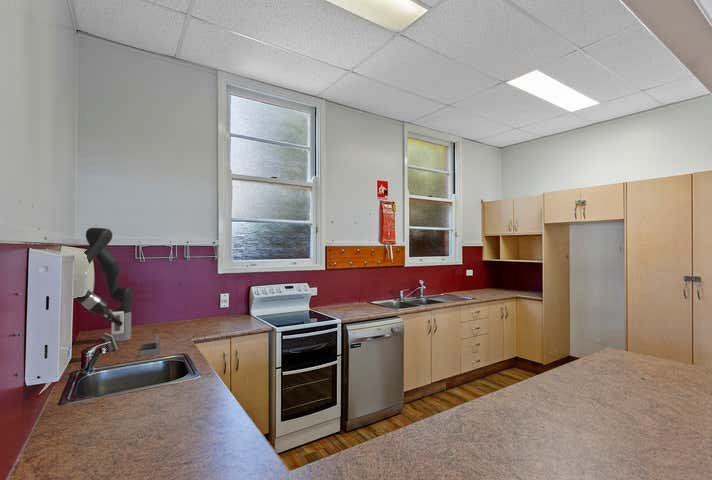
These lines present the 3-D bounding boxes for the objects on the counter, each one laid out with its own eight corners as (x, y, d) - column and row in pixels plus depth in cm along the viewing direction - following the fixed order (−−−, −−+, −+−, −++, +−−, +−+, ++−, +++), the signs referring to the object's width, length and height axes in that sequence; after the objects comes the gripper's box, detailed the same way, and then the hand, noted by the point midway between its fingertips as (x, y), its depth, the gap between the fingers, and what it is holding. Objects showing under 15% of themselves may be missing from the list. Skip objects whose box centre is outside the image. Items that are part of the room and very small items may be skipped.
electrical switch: (118, 350, 197) (116, 334, 196) (107, 353, 193) (106, 337, 192) (110, 347, 202) (109, 331, 202) (100, 350, 198) (98, 334, 197)
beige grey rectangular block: (112, 332, 189) (112, 312, 188) (123, 330, 191) (123, 311, 191) (111, 334, 184) (111, 314, 184) (122, 333, 187) (122, 313, 187)
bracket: (141, 349, 200) (141, 335, 199) (159, 346, 204) (159, 333, 204) (140, 356, 187) (140, 342, 187) (159, 354, 192) (159, 339, 192)
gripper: (98, 300, 177) (126, 321, 184) (102, 296, 190) (128, 315, 196) (85, 312, 175) (114, 332, 181) (90, 306, 187) (117, 325, 194)
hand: (121, 323), depth 189 cm, fingers closed on beige grey rectangular block, 5 cm apart
